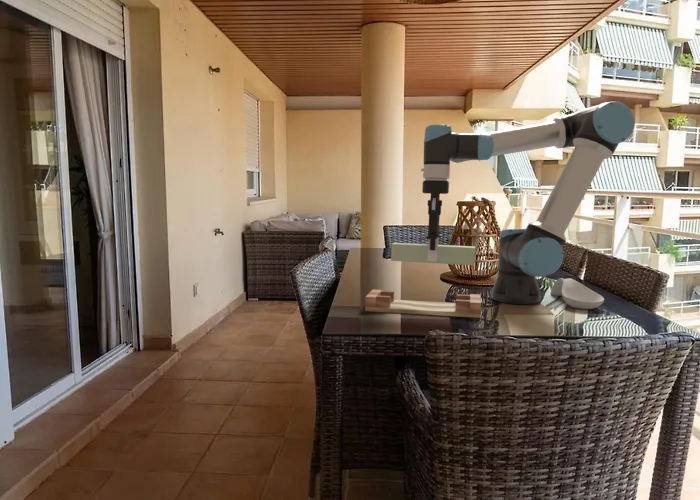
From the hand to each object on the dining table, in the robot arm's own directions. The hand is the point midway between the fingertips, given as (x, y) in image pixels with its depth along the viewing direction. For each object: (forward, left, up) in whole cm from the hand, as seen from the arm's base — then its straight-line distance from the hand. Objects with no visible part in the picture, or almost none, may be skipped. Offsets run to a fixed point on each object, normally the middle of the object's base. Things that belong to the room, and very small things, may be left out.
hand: (432, 260), depth 151 cm
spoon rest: (-21, +43, -16) cm, 50 cm away
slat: (0, 0, -1) cm, 1 cm away
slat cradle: (0, -2, -15) cm, 15 cm away
